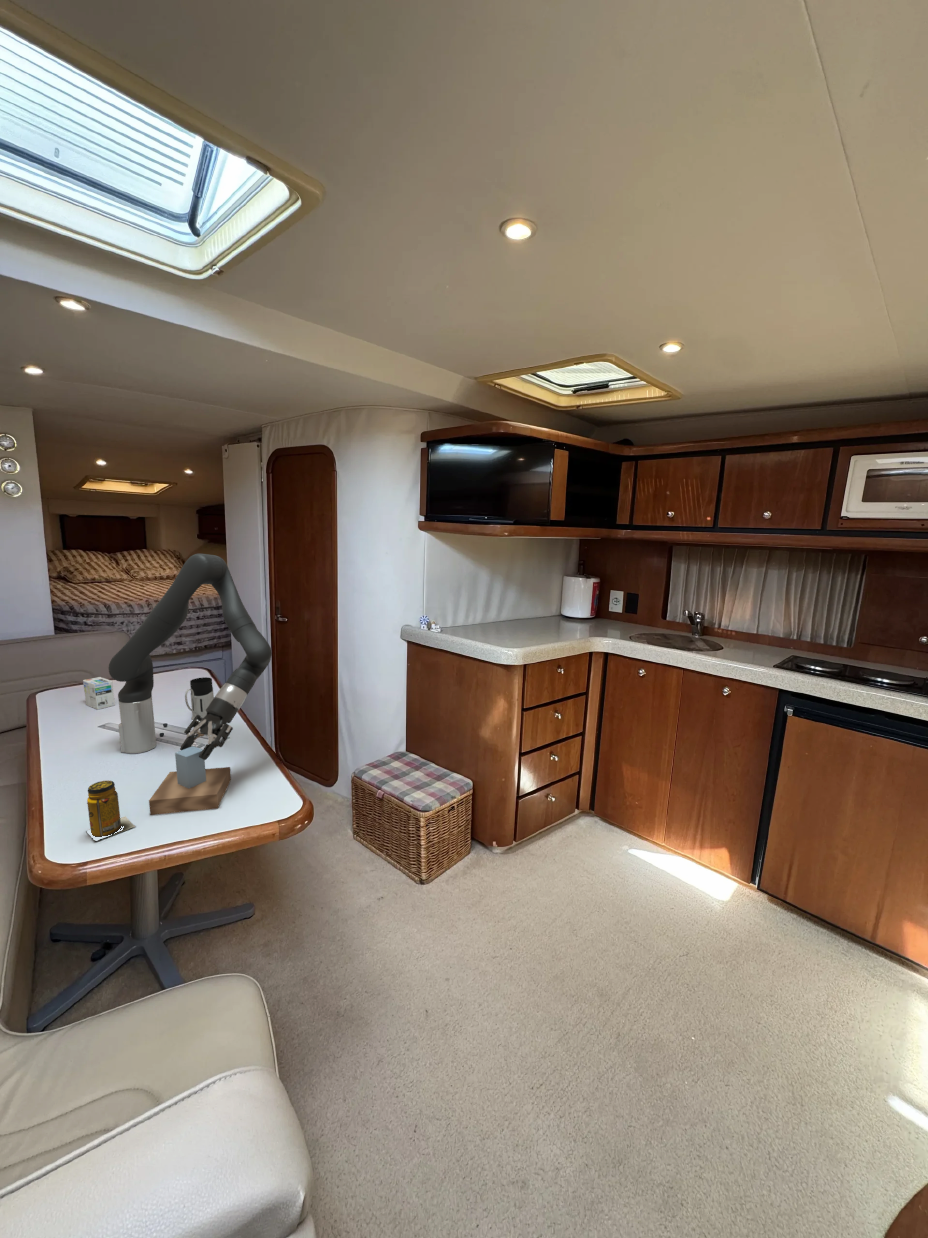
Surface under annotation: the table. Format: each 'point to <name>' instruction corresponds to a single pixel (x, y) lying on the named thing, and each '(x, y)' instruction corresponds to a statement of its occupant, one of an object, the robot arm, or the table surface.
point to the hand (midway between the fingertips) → (192, 755)
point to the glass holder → (200, 696)
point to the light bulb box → (99, 692)
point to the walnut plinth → (190, 793)
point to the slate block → (190, 767)
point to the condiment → (105, 810)
